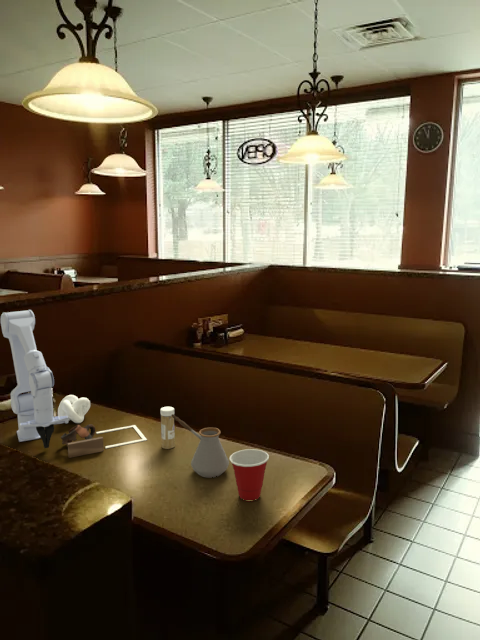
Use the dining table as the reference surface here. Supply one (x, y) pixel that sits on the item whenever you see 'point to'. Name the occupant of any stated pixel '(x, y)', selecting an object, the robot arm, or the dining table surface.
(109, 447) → the bay outline
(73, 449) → the walnut screen
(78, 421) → the white knot
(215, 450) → the coffee pot
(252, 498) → the plastic cup
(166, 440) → the sprinkles bottle
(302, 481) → the dining table surface
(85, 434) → the brown curved piece
